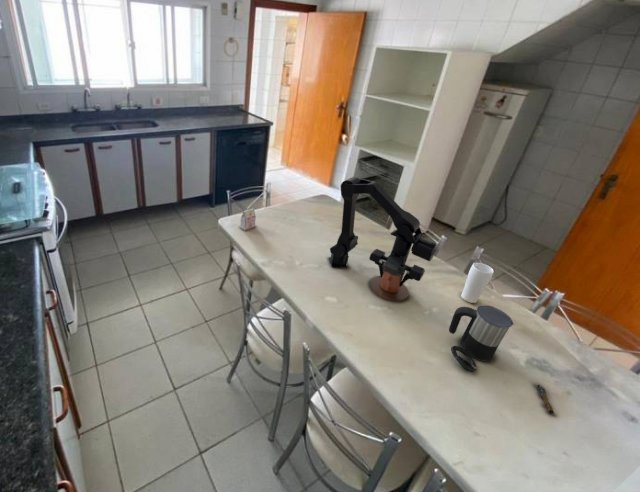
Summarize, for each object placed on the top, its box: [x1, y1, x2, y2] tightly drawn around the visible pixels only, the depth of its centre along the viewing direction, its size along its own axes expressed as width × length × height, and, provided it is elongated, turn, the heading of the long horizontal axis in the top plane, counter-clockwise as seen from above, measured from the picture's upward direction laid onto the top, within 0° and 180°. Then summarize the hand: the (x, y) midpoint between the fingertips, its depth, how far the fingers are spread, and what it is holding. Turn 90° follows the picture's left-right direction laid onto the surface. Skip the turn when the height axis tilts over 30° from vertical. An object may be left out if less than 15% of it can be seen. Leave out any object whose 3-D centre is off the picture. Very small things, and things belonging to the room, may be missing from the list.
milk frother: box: [448, 304, 514, 372], centre depth 100 cm, size 14×16×15 cm
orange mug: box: [380, 271, 406, 293], centre depth 127 cm, size 9×7×9 cm
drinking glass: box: [460, 262, 495, 304], centre depth 124 cm, size 7×7×15 cm
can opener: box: [536, 384, 555, 414], centre depth 91 cm, size 9×2×1 cm, turn 152°
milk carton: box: [239, 207, 257, 231], centre depth 166 cm, size 4×7×10 cm, turn 129°
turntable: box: [369, 275, 409, 303], centre depth 130 cm, size 14×14×1 cm
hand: (390, 281), depth 128 cm, fingers closed on orange mug, 7 cm apart
